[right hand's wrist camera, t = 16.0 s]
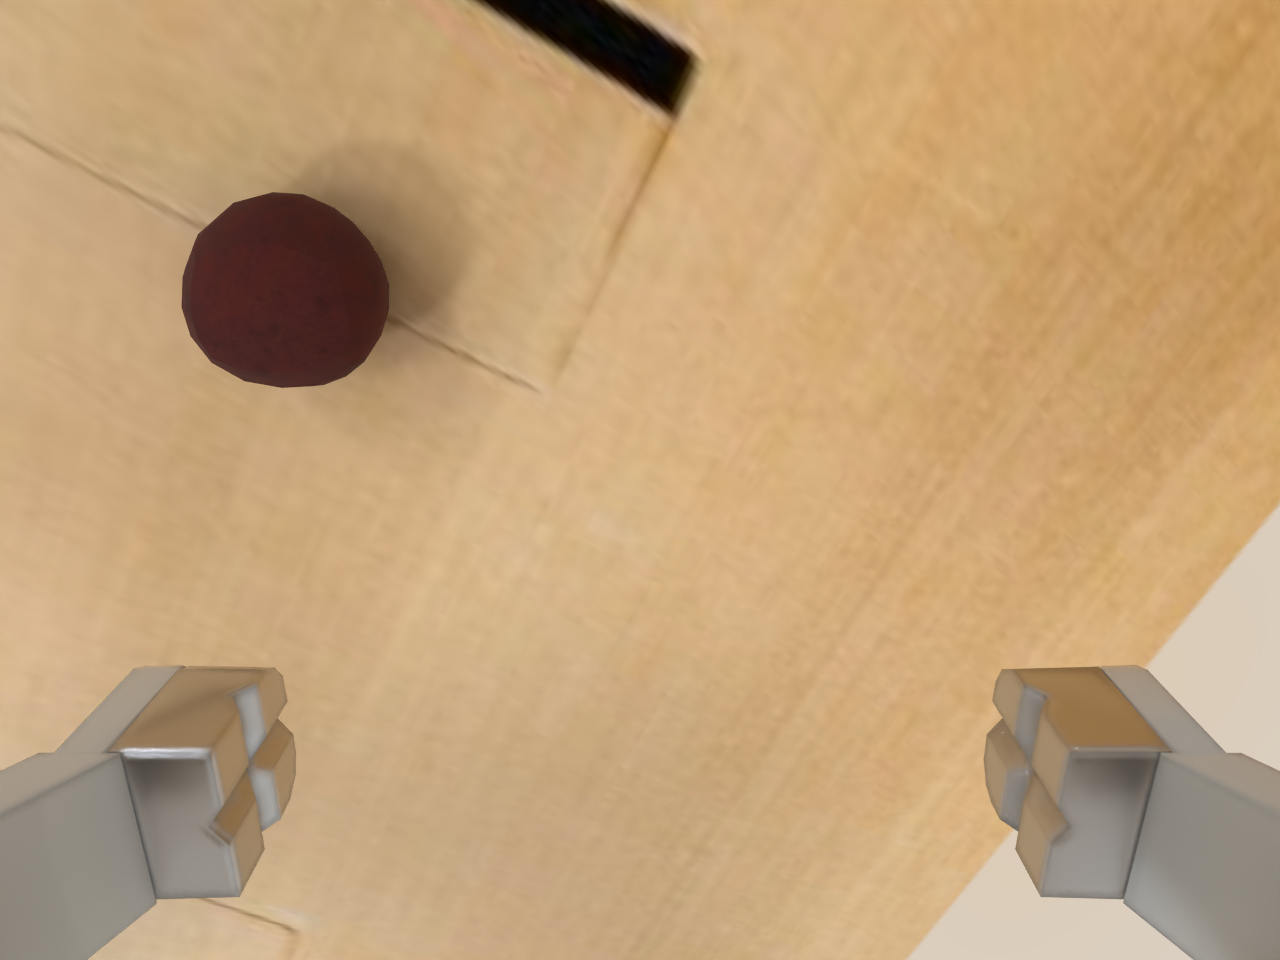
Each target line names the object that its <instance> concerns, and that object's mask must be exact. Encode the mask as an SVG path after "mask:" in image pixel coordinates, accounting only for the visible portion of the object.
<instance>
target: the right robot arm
mask: <svg viewBox="0 0 1280 960" xmlns="http://www.w3.org/2000/svg"><path fill="white" fill-rule="evenodd" d="M287 701H288V700H287V695H286V691H285V686H284V681H283V676H282V675H281V674H280V673H279V672H278V671H277V670H276V669H275V668H263V667H213V666H188V667H185V666H144V667H139V668H135V669H133V670H132V671H131V672H130V673H129V674H128V675H127V676H126V677H125V679H124V680H123V681H122V682H121V683H120V684H119V685H118V686H117V687H116V688H115V689H114V690H113V691H112V692H111V693H110V694H109V695H108V696H107V697H106V699H105V700H104V701H103V702H102V703H101V704H100V705H99V706H98V707H97V708H96V709H95V710H94V711H93V712H92V713H91V714H90V715H89V716H88V717H87V719H86V720H85V721H84V722H83V723H82V724H81V725H80V726H79V727H78V728H77V729H76V730H75V731H74V732H73V733H72V734H71V735H70V736H69V737H68V739H67V740H66V741H65V742H64V743H63V744H62V745H61V746H60V747H59V748H58V749H57V750H56V751H55V752H54V753H38V754H36V755H34V756H32V757H29V758H27V759H25V760H23V761H21V762H19V763H17V764H14V765H12V766H10V767H8V768H6V769H4V770H2V771H0V960H87V959H88V958H90V957H91V956H92V955H93V954H95V953H96V952H97V951H98V950H99V949H101V948H102V947H103V946H104V945H106V944H107V943H108V942H109V941H111V940H112V939H113V938H114V937H116V936H117V935H118V934H119V933H121V932H122V931H123V930H124V929H126V928H127V927H128V926H129V925H130V924H132V923H133V922H134V921H135V920H137V919H138V918H139V917H140V916H142V915H143V914H144V913H145V912H147V911H148V910H149V909H150V908H152V907H153V906H154V905H155V904H156V899H181V898H216V897H240V895H241V893H242V891H243V889H244V887H245V885H246V883H247V881H248V880H249V878H250V876H251V874H252V872H253V870H254V868H255V866H256V864H257V863H258V861H259V859H260V857H261V855H262V853H263V851H264V843H263V837H262V831H263V830H265V829H266V828H268V827H269V826H271V825H272V824H274V823H275V822H277V821H278V820H280V819H281V817H282V815H283V812H284V810H285V808H286V806H287V804H288V802H289V800H290V797H291V792H292V788H293V783H294V779H295V774H296V751H295V744H294V737H293V734H292V733H291V732H290V731H289V730H288V729H287V728H286V727H285V725H284V724H283V723H282V722H281V721H280V720H279V719H278V716H279V714H280V713H281V711H282V709H283V708H284V706H285V704H286V703H287ZM992 701H993V703H994V704H995V706H996V708H997V709H998V711H999V713H1000V714H1001V716H1002V719H1001V720H1000V721H999V722H998V723H997V724H996V725H995V726H994V728H993V729H992V730H991V731H990V732H989V733H988V734H987V738H986V746H985V753H984V768H985V779H986V786H987V789H988V793H989V796H990V799H991V803H992V805H993V807H994V809H995V811H996V813H997V815H998V817H999V819H1000V820H1002V821H1003V822H1005V823H1006V824H1008V825H1009V826H1011V827H1012V828H1014V829H1015V830H1017V831H1018V837H1017V843H1016V851H1017V853H1018V855H1019V857H1020V859H1021V861H1022V862H1023V864H1024V866H1025V868H1026V870H1027V872H1028V874H1029V876H1030V878H1031V879H1032V881H1033V883H1034V885H1035V887H1036V889H1037V891H1038V893H1039V894H1040V896H1041V897H1062V898H1098V899H1124V902H1123V903H1124V904H1125V905H1126V906H1128V907H1129V908H1130V909H1131V910H1133V911H1134V912H1135V913H1136V914H1138V915H1139V916H1140V917H1141V918H1142V919H1144V920H1145V921H1146V922H1147V923H1149V924H1150V925H1151V926H1152V927H1154V928H1155V929H1156V930H1157V931H1159V932H1160V933H1161V934H1162V935H1164V936H1165V937H1166V938H1167V939H1168V940H1170V941H1171V942H1172V943H1173V944H1175V945H1176V946H1177V947H1178V948H1180V949H1181V950H1182V951H1183V952H1185V953H1186V954H1187V955H1188V956H1190V957H1191V958H1192V959H1193V960H1280V771H1278V770H1276V769H1274V768H1272V767H1270V766H1268V765H1265V764H1263V763H1261V762H1259V761H1257V760H1255V759H1253V758H1251V757H1248V756H1246V755H1244V754H1242V753H1226V752H1225V751H1224V750H1223V749H1222V748H1221V747H1220V746H1219V745H1218V744H1217V743H1216V742H1215V741H1214V740H1213V738H1212V737H1211V736H1210V735H1209V734H1208V733H1207V732H1206V731H1205V730H1204V729H1203V728H1202V727H1201V726H1200V725H1199V724H1198V723H1197V722H1196V721H1195V719H1194V718H1193V717H1192V716H1191V715H1190V714H1189V713H1188V712H1187V711H1186V710H1185V709H1184V708H1183V707H1182V706H1181V705H1180V704H1179V703H1178V702H1177V700H1176V699H1175V698H1174V697H1173V696H1172V695H1171V694H1170V693H1169V692H1168V691H1167V690H1166V689H1165V688H1164V687H1163V686H1162V685H1161V684H1160V683H1159V682H1158V680H1157V679H1156V678H1155V677H1154V676H1153V675H1152V674H1151V673H1150V672H1149V671H1148V670H1146V669H1144V668H1142V667H1139V666H1137V665H1125V666H1098V667H1074V668H1033V669H1002V670H1001V672H1000V674H999V676H998V678H997V680H996V683H995V689H994V695H993V700H992Z"/></svg>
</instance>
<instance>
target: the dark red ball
mask: <svg viewBox="0 0 1280 960" xmlns="http://www.w3.org/2000/svg"><path fill="white" fill-rule="evenodd" d="M182 310H183V313H184V316H185V319H186V323H187V326H188V329H189V332H190V335H191V337H192V338H193V340H194V341H195V342H196V343H197V345H198V346H199V347H200V349H201V350H202V351H203V352H204V354H205V355H206V356H207V357H208V359H209V360H210V361H211V362H212V363H213V364H215V365H217V366H219V367H220V368H222V369H224V370H226V371H227V372H229V373H231V374H233V375H235V376H236V377H238V378H240V379H242V380H244V381H247V382H253V383H258V384H264V385H270V386H275V387H281V388H285V387H304V386H317V385H325V384H327V383H330V382H332V381H335V380H338V379H340V378H343V377H345V376H347V375H348V374H349V373H351V372H352V371H353V370H354V369H356V368H357V367H358V366H359V365H361V364H362V363H363V362H364V361H365V360H366V358H367V357H368V355H369V353H370V352H371V350H372V349H373V347H374V346H375V344H376V343H377V341H378V339H379V338H380V336H381V334H382V331H383V327H384V324H385V321H386V317H387V314H388V310H389V284H388V280H387V277H386V274H385V271H384V268H383V265H382V262H381V260H380V258H379V257H378V255H377V253H376V252H375V250H374V248H373V247H372V245H371V243H370V242H369V240H368V239H367V238H366V237H365V236H364V235H363V234H362V232H361V231H360V230H359V229H358V228H357V227H356V226H355V224H354V223H353V222H352V221H350V220H349V219H348V218H346V217H345V216H344V215H343V214H341V213H340V212H339V211H337V210H336V209H335V208H333V207H331V206H328V205H326V204H324V203H322V202H319V201H317V200H315V199H312V198H310V197H308V196H306V195H303V194H289V193H275V192H272V193H269V194H265V195H261V196H257V197H254V198H250V199H246V200H243V201H239V202H235V203H233V204H232V205H231V206H230V207H228V208H227V209H226V210H225V211H224V212H223V213H222V214H221V215H219V216H218V217H217V218H216V219H215V220H214V221H213V222H211V223H210V224H209V225H208V226H207V227H206V228H205V229H204V230H202V231H201V232H200V233H199V234H198V236H197V238H196V241H195V243H194V246H193V248H192V251H191V254H190V257H189V259H188V262H187V265H186V268H185V271H184V275H183V285H182Z"/></svg>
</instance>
